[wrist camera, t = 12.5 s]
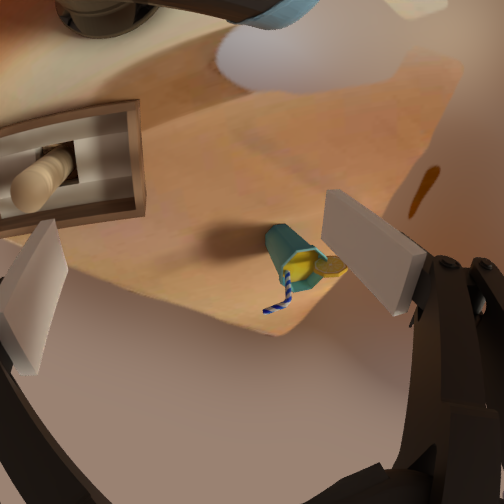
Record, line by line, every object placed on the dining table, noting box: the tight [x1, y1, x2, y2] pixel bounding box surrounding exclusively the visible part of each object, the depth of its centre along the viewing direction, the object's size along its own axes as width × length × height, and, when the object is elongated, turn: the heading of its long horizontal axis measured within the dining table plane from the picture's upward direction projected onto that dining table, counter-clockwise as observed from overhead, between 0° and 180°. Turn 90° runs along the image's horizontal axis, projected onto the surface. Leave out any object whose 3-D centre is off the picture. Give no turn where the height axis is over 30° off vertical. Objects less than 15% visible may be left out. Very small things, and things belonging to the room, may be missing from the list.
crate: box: [0, 99, 147, 239], centre depth 34 cm, size 14×24×8 cm, turn 89°
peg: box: [10, 145, 76, 213], centre depth 32 cm, size 4×4×14 cm
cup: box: [263, 224, 347, 315], centre depth 48 cm, size 14×8×15 cm, turn 113°
